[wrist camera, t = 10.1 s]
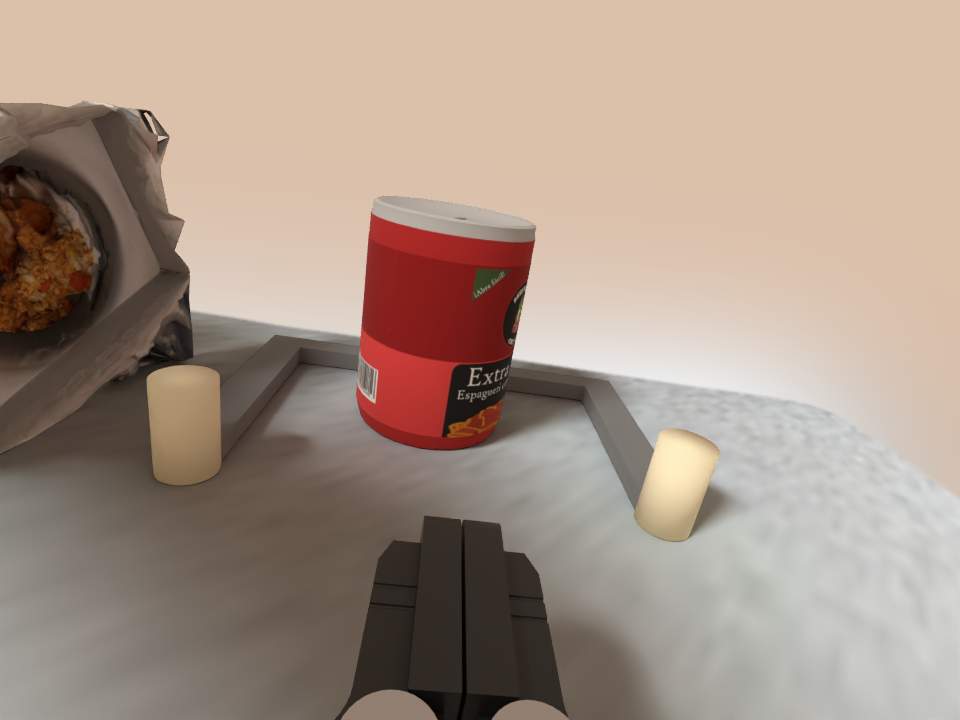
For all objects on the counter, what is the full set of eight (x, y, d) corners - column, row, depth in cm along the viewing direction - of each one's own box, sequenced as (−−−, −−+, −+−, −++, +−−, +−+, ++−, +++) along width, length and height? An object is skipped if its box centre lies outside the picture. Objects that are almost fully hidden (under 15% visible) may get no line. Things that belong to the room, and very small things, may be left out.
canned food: (470, 471, 24) (513, 232, 20) (323, 421, 26) (337, 195, 22) (515, 410, 31) (553, 222, 27) (396, 374, 33) (416, 195, 29)
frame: (140, 481, 20) (132, 386, 18) (271, 349, 34) (273, 288, 32) (699, 544, 22) (731, 462, 20) (608, 394, 35) (622, 339, 34)
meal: (129, 349, 30) (109, 103, 26) (195, 364, 30) (187, 117, 25) (-256, 492, 16) (-451, 14, 12) (-145, 527, 16) (-303, 41, 11)
